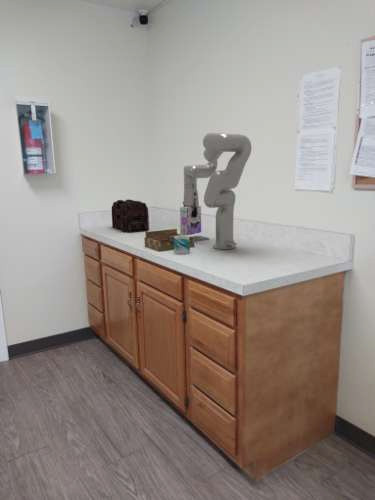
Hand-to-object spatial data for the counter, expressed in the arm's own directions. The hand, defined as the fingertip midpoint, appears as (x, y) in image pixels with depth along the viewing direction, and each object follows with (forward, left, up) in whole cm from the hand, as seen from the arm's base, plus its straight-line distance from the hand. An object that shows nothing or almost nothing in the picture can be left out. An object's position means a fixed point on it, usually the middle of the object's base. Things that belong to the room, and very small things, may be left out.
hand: (190, 216), depth 239 cm
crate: (+65, +12, -15) cm, 68 cm away
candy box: (0, 0, -11) cm, 11 cm away
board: (0, 0, -14) cm, 14 cm away
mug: (-27, +23, -15) cm, 38 cm away
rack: (-10, +21, -14) cm, 27 cm away
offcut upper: (-17, +21, -11) cm, 29 cm away
